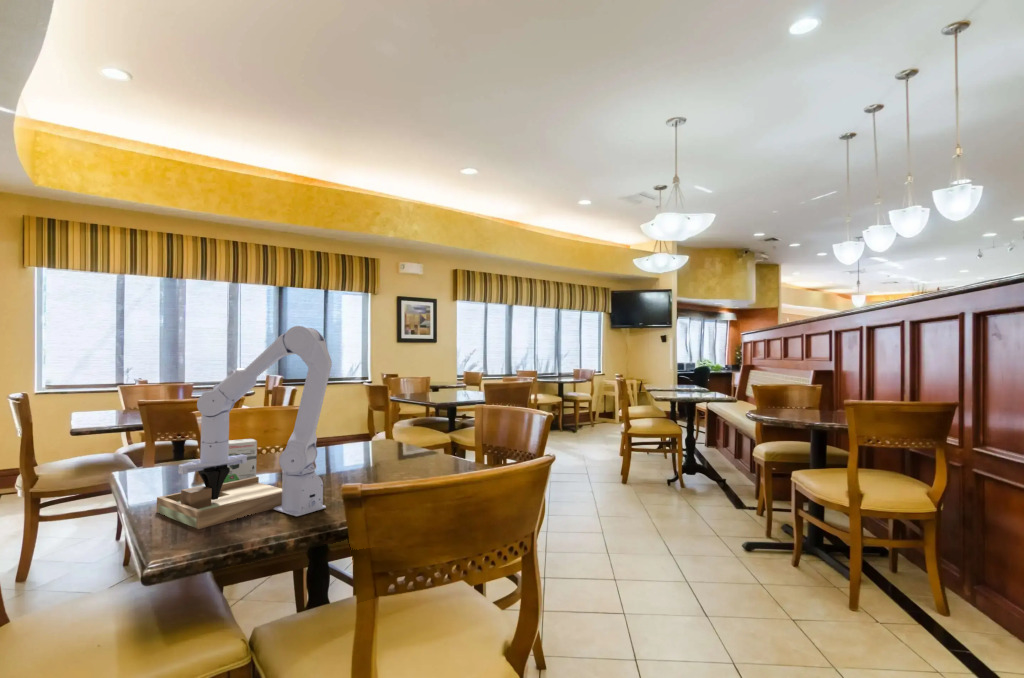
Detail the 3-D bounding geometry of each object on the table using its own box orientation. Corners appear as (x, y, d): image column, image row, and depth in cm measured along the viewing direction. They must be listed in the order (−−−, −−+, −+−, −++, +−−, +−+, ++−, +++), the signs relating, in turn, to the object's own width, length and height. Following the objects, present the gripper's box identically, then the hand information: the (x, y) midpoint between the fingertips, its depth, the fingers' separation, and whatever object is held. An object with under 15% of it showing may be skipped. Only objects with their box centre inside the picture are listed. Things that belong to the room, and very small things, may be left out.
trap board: (300, 501, 124) (300, 487, 124) (198, 529, 104) (199, 512, 104) (256, 489, 135) (256, 476, 135) (156, 512, 115) (156, 497, 115)
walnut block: (211, 505, 114) (211, 488, 114) (190, 510, 110) (190, 493, 110) (201, 502, 116) (202, 485, 116) (180, 507, 112) (181, 489, 112)
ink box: (223, 485, 139) (224, 443, 139) (219, 481, 143) (220, 441, 143) (256, 480, 145) (257, 440, 145) (252, 477, 148) (252, 438, 149)
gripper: (236, 435, 125) (235, 489, 124) (172, 444, 113) (171, 503, 112) (251, 438, 121) (250, 493, 121) (187, 447, 109) (185, 508, 108)
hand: (213, 498), depth 116 cm, fingers closed
